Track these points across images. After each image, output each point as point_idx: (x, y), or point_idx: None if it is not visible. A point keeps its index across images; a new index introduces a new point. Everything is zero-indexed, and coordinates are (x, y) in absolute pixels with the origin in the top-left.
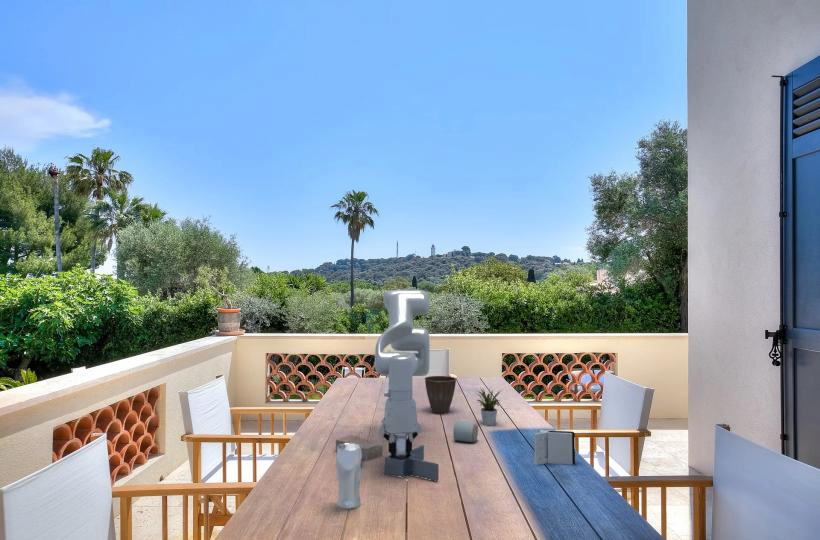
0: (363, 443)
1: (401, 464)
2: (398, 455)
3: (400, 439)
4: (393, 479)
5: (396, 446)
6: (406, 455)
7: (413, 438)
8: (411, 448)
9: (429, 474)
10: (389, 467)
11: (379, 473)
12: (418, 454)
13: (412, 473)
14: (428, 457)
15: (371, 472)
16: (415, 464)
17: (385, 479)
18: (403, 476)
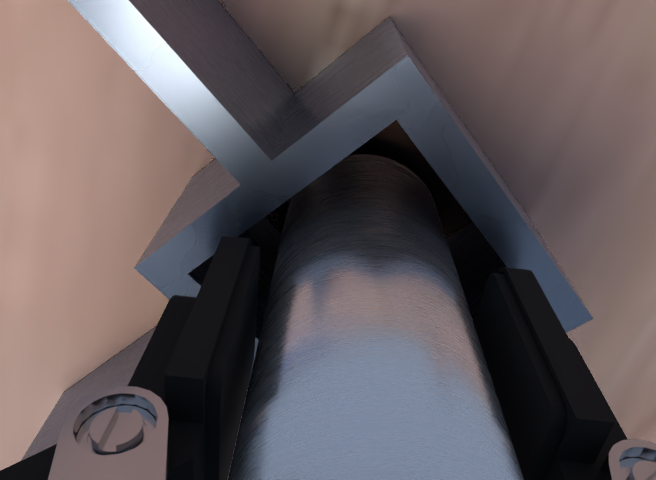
0: None
1: (422, 74)
2: (427, 248)
3: (434, 454)
4: (512, 19)
5: (482, 364)
6: (282, 260)
7: (51, 463)
8: (174, 315)
9: None
10: (515, 201)
11: (569, 237)
12: None
13: (257, 59)
14: (13, 441)
15: (628, 283)
16: (198, 45)
17: (598, 50)
18: (386, 22)
